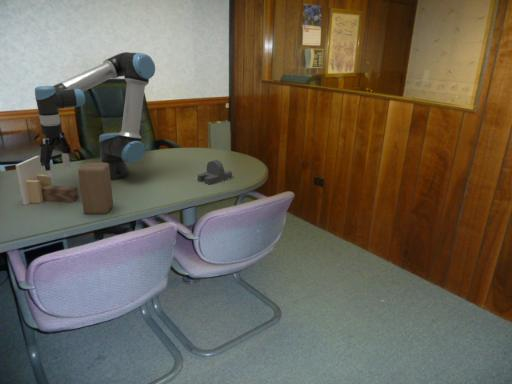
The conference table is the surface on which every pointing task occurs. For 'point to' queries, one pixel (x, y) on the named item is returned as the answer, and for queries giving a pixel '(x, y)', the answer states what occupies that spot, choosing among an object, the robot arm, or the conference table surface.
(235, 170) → the conference table surface
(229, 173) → the bracket
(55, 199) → the rail
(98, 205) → the wooden block
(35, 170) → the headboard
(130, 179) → the conference table surface
